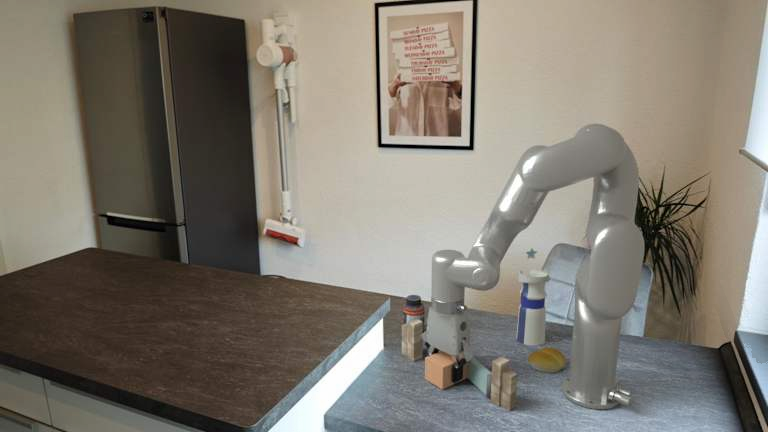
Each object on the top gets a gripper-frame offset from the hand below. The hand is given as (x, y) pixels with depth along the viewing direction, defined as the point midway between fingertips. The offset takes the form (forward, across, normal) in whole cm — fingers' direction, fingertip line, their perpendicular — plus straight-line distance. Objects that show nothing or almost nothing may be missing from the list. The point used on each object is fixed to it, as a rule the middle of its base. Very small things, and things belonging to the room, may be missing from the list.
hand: (446, 374), depth 127 cm
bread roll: (+2, -12, -24) cm, 27 cm away
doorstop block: (+1, 0, 0) cm, 1 cm away
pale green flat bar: (+1, -2, -5) cm, 5 cm away
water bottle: (+1, -1, -33) cm, 33 cm away
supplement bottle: (+2, +22, -11) cm, 25 cm away
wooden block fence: (+1, -1, -2) cm, 2 cm away
